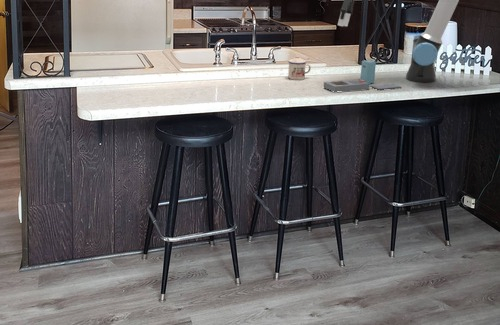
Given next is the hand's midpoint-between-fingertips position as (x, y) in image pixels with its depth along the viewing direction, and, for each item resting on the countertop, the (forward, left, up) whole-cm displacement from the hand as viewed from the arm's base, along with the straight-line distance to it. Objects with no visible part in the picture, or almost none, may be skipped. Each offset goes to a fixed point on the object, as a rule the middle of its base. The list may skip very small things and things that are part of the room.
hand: (342, 26), depth 325 cm
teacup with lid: (+17, -11, -28) cm, 35 cm away
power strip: (+7, +18, -28) cm, 34 cm away
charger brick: (-11, +10, -28) cm, 31 cm away
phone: (-13, +23, -28) cm, 39 cm away
